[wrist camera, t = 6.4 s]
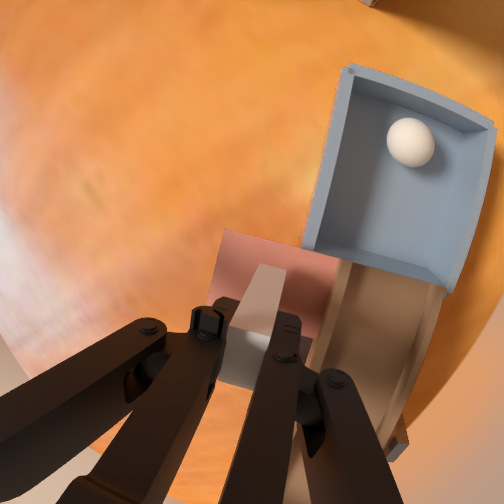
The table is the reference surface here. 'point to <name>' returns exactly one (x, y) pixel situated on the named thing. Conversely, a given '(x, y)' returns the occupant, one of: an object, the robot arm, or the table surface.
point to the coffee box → (369, 2)
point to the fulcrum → (399, 434)
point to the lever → (341, 325)
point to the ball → (410, 142)
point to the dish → (399, 181)
